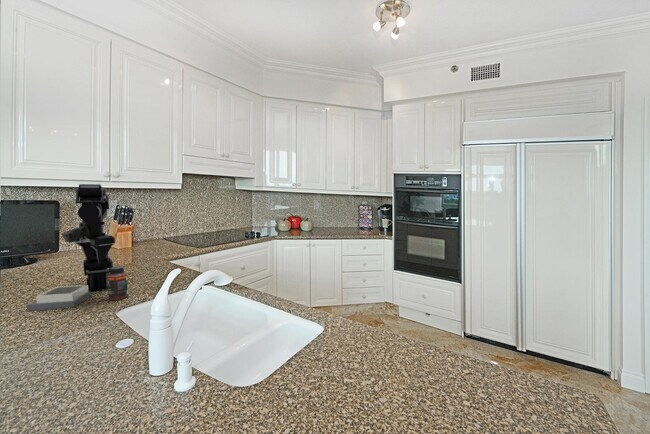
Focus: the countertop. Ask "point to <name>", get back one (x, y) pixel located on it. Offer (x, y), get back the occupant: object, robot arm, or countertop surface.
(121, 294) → the supplement bottle
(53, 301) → the plate
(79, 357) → the countertop surface
